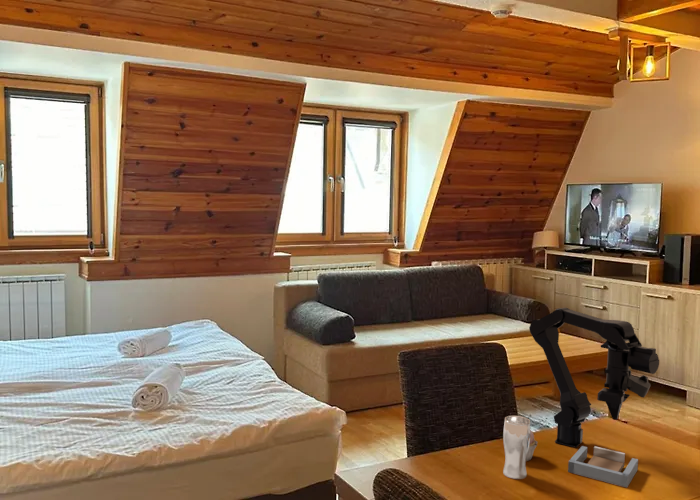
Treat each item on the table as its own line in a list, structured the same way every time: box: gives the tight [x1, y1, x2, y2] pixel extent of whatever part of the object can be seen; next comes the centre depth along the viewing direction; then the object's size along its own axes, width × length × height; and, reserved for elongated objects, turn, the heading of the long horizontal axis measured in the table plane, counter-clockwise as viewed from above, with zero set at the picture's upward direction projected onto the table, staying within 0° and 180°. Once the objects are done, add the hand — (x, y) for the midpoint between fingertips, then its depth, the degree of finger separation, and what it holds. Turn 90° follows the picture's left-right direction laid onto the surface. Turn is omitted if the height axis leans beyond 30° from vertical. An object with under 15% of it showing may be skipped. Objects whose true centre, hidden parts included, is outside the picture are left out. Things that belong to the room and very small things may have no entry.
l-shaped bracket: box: [586, 445, 626, 473], centre depth 172 cm, size 8×10×4 cm
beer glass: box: [502, 415, 531, 480], centre depth 167 cm, size 7×7×15 cm
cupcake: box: [526, 429, 538, 462], centre depth 179 cm, size 9×9×10 cm
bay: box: [567, 445, 639, 488], centre depth 171 cm, size 15×14×3 cm
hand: (615, 419), depth 179 cm, fingers closed
